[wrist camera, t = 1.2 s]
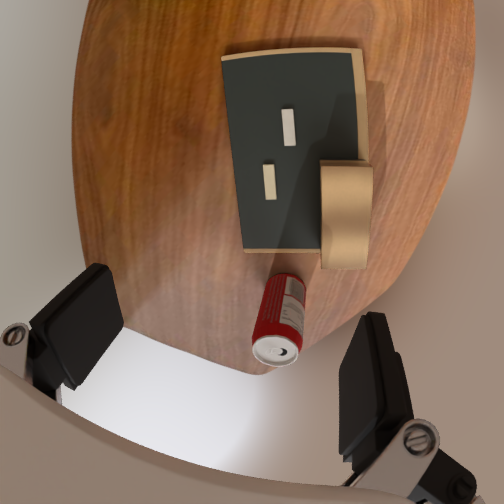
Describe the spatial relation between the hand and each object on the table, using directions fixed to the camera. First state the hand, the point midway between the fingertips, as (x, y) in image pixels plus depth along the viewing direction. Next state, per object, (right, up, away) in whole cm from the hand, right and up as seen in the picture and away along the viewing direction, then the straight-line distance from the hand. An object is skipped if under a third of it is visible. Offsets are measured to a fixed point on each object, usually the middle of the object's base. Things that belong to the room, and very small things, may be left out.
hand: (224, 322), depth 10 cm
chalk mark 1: (+3, +10, +21) cm, 23 cm away
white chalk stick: (+5, +16, +18) cm, 24 cm away
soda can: (+6, -2, +29) cm, 29 cm away
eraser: (+11, +8, +21) cm, 24 cm away
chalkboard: (+6, +13, +20) cm, 24 cm away
